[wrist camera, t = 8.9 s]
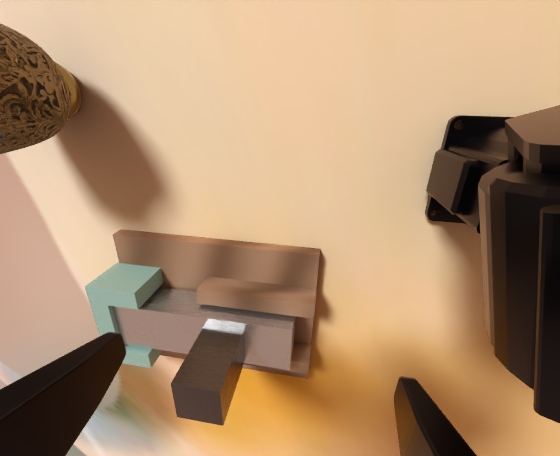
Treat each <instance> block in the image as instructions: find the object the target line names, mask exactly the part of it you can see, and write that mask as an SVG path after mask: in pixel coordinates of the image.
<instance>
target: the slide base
mask: <svg viewBox="0 0 560 456" xmlns="http://www.w3.org/2000/svg"><path fill="white" fill-rule="evenodd" d="M113 238H114V242H115V246H116V251H117V255H118V259H119V263H123V264H132V265H140V266H149V267H158V268H161V272H162V278H163V284H162V285H161V286H160V288H168V289H176V290H184V291H192V292H196V295H197V303H198V304H205V305H213V306H220V307H228V308H236V309H243V310H251V311H259V312H266V313H274V314H281V315H289V316H296V318H295V334H294V346H293V352H292V359H291V366H290V370H285V369H279V368H272V367H266V366H260V365H253V364H247V363H244V364H243V367H242V368H245V369H251V370H258V371H264V372H270V373H276V374H282V375H289V376H295V377H301V378H307V379H308V375H309V365H310V352H311V340H312V329H313V319H314V314H315V303H316V288H317V278H318V267H319V257H320V249H315V248H304V247H294V246H284V245H274V244H263V243H253V242H243V241H233V240H222V239H212V238H202V237H192V236H181V235H171V234H161V233H150V232H140V231H130V230H119V231H118V232H116V233H114V234H113ZM160 355H164V356H170V357H176V358H183V359H185V358H186V356H187V355H188V354H184V353H177V352H171V351H165V350H163V351H162V353H161V354H160Z"/></svg>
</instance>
